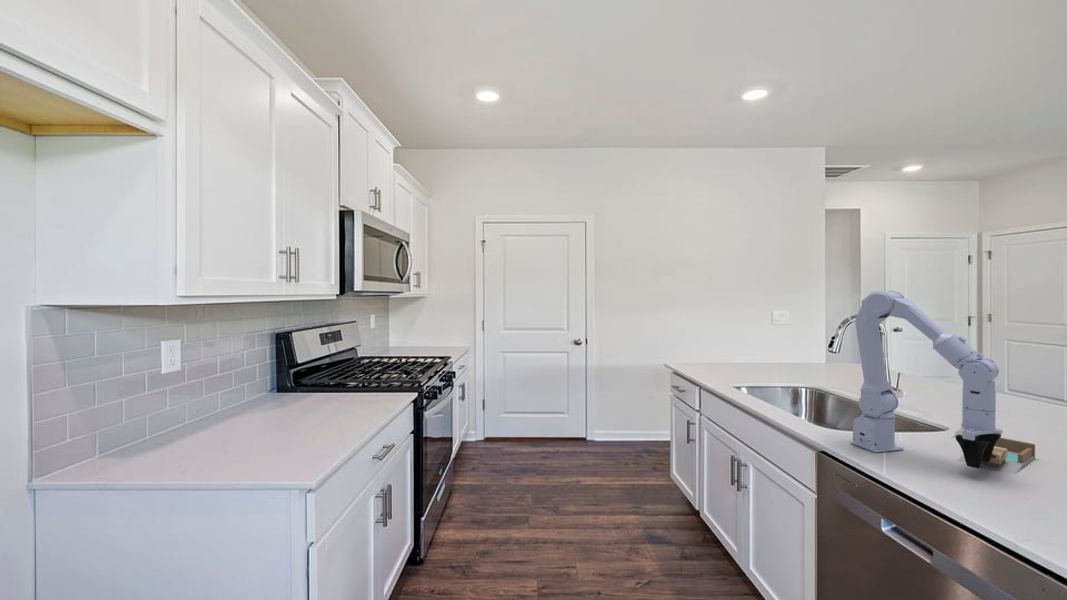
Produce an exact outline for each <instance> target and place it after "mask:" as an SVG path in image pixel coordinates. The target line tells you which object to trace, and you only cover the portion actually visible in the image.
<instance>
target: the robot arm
mask: <svg viewBox="0 0 1067 600" xmlns="http://www.w3.org/2000/svg"><path fill="white" fill-rule="evenodd" d="M889 317H893V318H894V317H895V318H898V319H903V320H906V321H907V322H908V323H910V325H911V326H913V327H914V328H916V329H917V330H918V331H920V332H921V333H922V334H924V336H926V337H927V338H928V339H930V340H931V341H932V349H933V350H934V351H935V352H937V353H938V354H939V355H940V357H942V358H943V359H944V360H945V361H947V362H948V363H949V364H950V365H951V366H953V368H955V369H958V370H957V372H958V376H959V377H960V378H961V380H962V399H961V400H962V401H961V402H962V408H961V409H962V410H961V411H962V414H961V415H962V417H961V421H962V422H961V424H960V429H961V428H962V430H963V432H962V435H959V434H958V435H956V439H955V440H956V441H957V443H958V445H959V446H960V448H961V449H960V450H962V455H963V454H964V458H965V461H966V462H965V464H966V467H970V468H974V469H980V468H981V462H982V461H985V462H989V461H990V459H991V456H992V452H993V449H994V446H995V444H996V442H997V441H998V439H999V438H1000V437H1001V438H1002V433H1003V432H1004V431H1003V429H1001V428H996V411H997V410H996V408H997V407H996V406H997V404H996V403H997V402H996V395H997V394H996V381H995V379H997V377H998V376H999V373H1000V372H999V370H1000V369H999V367H998V366H997V364H996V363H995V362H994V360H992V359H990V358H987V357H985V354H983V353H982V352H977V351H976V350H975V349H974V348H972V346H970V345H969V344H968V343H967V342H966V341H967V339H966V338H965V337H964V336H958V335H957V334H956V333H955V334H954V333H946V332H945V331H944V330H942V328H941V327H939V325H937V324H936V323H935V322H934V321H933V320H932V319H931V318H930V317H929V316H927V315H926V314H925V313H924V312H923V311H922V309H920V308H919V307H918V306H917V305H916V304H915V303H914V302H913V301H912V300H910V299H909V298H907V297H905V296H904V295H903V294H902V293H900V292H898V291H895V290H888V291H881V290H877V291H872V292H871V293H869V294H868V295H867V296H866V297H865V298H863V299H862V300H861V306H860V308H859V310H858V313H857V315H856V317H855V318H854V319H855V320H854V322H855V323H854V324H855V329H856V337H857V343H858V344H857V345H858V351H859V356H860V362H861V363H860V364H861V369H862V376H863V383H862V384H861V385H862V386H861V387H860V397H859V399H858V406H859V409H860V410H861V411H862V413H861V415H860V416H858V417H855V419H854V420H853V423H852V440H850V442H849V444H852V445H854V446H857V447H860V448H863V449H865V450H868V451H870V452H874V453H883V452H892V451H902V450H904V448H903V447H902V446H898V445H895V439H896V438H895V436H896V435H895V434H896V433H895V431H896V430H895V427H896V426H895V424H896V421H895V418H896V415H895V413H894V411H896V409H897V408H898V406H899V399H898V397H897V396H896V394H895V393H894V390H893V386H892V385H891V383H890V382H889V381H888V376H887V370H886V364H885V358H884V353H883V346H882V338H881V333H880V325H881V324H882V323H883V322H885V320H887V318H889Z"/></svg>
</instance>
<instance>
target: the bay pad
mask: <svg viewBox="0 0 1067 600" xmlns="http://www.w3.org/2000/svg"><path fill="white" fill-rule="evenodd" d="M1006 460H1008V461H1012V462H1017V461H1018V455H1014V454H1009V453H1007V458H1006Z"/></svg>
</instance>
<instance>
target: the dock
mask: <svg viewBox="0 0 1067 600" xmlns="http://www.w3.org/2000/svg"><path fill="white" fill-rule="evenodd" d="M995 446H996V447H1000V448H1005V449H1007V453H1009V454H1014V455H1018V461H1017V462H1012V461H1008V460H1005V463H1004V462H1002V463H1001V464H1000V467H999V468H997V467H993V466H989V465H985V464H981V466H982V467H985V468H989V469H993V470H997V471H1002V472H1005V473H1008V474H1009V473H1010V474H1012V475H1013V474H1014V475H1016V474H1017V473H1018V472H1019V471H1022V469H1023V468H1025V467H1026V466H1027V465H1029V464H1031V462H1033V461H1034V460H1035V459H1036V444H1035V443H1032V442H1027V441H1022V440H1021V441H1020V440H1016V439H1011V438H1005V437H1002V436H1001V437H1000V438H999V439H998V441H997V442H996V444H995ZM959 460H960V461H959ZM957 461H959V462H965V463H966V461H965V458H964V454H963V453H962V455H961V456H960V457H959V458H958V459H957ZM981 466H980V467H981Z"/></svg>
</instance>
